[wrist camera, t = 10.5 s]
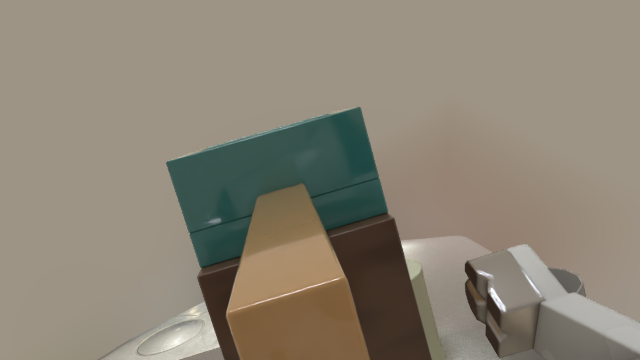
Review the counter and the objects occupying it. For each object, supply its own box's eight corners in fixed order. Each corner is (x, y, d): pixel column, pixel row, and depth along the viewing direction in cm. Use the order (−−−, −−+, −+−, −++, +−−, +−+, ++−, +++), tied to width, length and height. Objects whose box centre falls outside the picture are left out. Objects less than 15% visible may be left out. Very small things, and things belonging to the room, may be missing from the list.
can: (446, 341, 58) (422, 248, 57) (447, 388, 50) (419, 280, 48) (373, 350, 61) (348, 262, 59) (361, 396, 52) (332, 294, 51)
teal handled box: (80, 496, 8) (-24, 229, 7) (222, 226, 27) (198, 150, 27) (553, 346, 8) (494, 81, 7) (356, 186, 28) (336, 110, 27)
